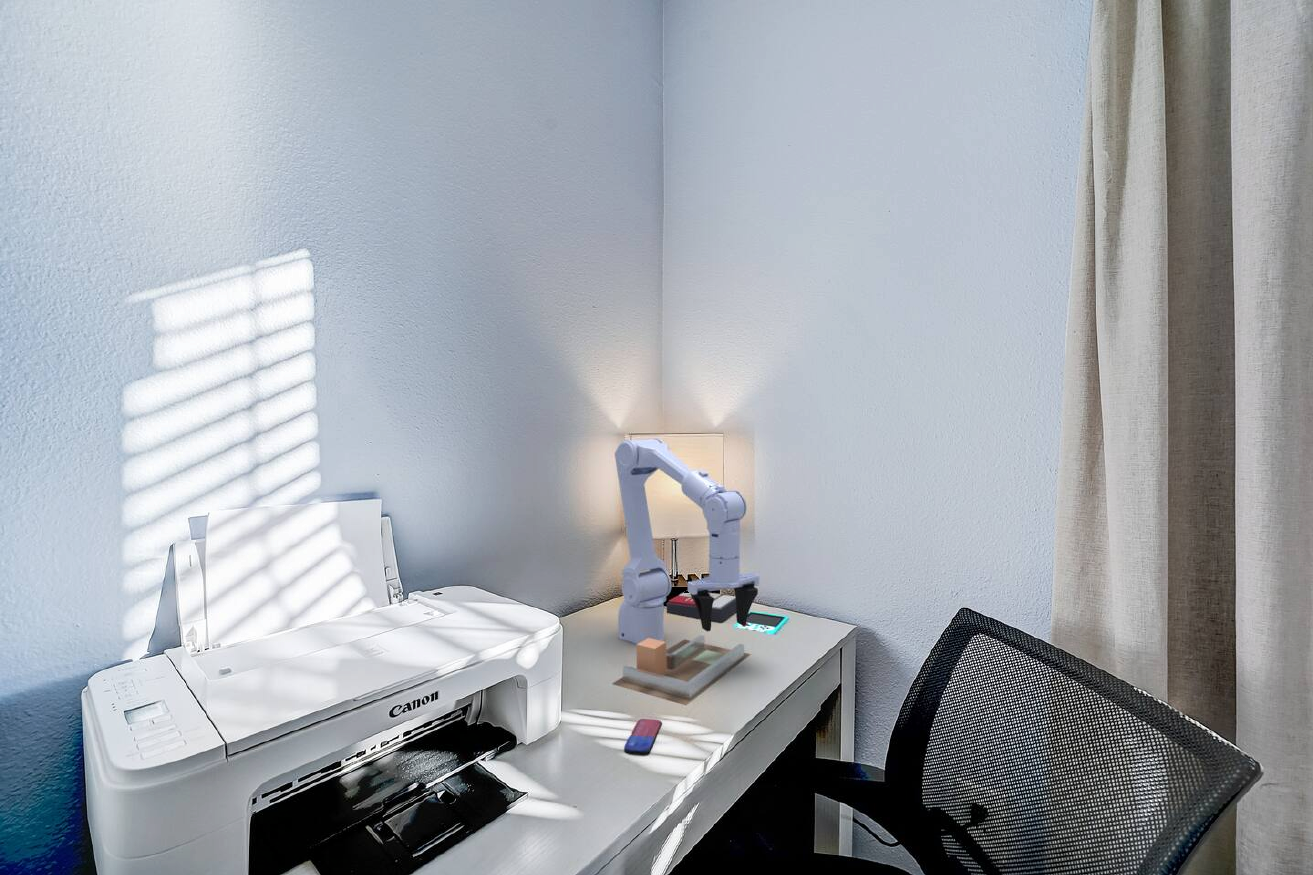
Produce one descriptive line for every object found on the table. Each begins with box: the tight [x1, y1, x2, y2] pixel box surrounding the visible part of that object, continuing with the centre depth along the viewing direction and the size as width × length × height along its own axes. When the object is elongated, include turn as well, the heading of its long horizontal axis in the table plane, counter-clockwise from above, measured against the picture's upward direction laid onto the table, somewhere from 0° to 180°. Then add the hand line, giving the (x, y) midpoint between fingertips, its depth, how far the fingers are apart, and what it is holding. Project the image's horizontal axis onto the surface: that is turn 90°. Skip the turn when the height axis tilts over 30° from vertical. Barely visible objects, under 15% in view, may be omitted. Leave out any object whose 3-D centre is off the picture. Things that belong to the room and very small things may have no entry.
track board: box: [611, 638, 752, 706], centre depth 122 cm, size 16×26×1 cm, turn 147°
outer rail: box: [622, 643, 745, 700], centre depth 121 cm, size 14×22×2 cm, turn 147°
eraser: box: [623, 718, 663, 756], centre depth 97 cm, size 11×4×2 cm, turn 168°
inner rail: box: [666, 634, 705, 670], centre depth 128 cm, size 5×13×2 cm, turn 147°
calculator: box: [666, 592, 736, 624], centre depth 158 cm, size 11×4×15 cm
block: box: [636, 638, 667, 675], centre depth 119 cm, size 4×4×6 cm
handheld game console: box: [732, 610, 790, 636], centre depth 148 cm, size 10×16×1 cm, turn 153°
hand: (723, 626), depth 121 cm, fingers open, 7 cm apart
